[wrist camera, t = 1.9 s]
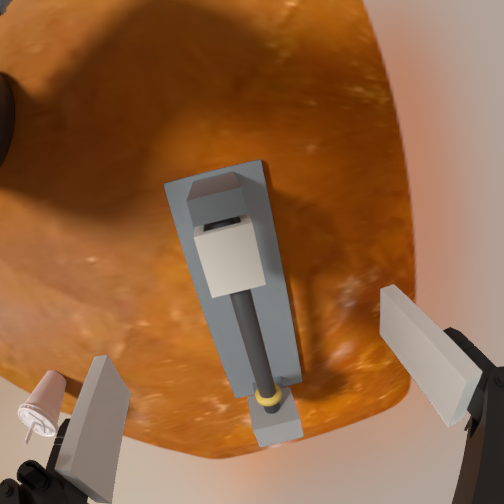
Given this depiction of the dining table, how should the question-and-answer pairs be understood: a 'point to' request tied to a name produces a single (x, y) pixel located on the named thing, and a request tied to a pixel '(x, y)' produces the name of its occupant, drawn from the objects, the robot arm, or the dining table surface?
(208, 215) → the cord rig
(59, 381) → the smoothie
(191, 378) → the dining table surface
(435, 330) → the robot arm
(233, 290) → the sleeve
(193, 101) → the dining table surface
